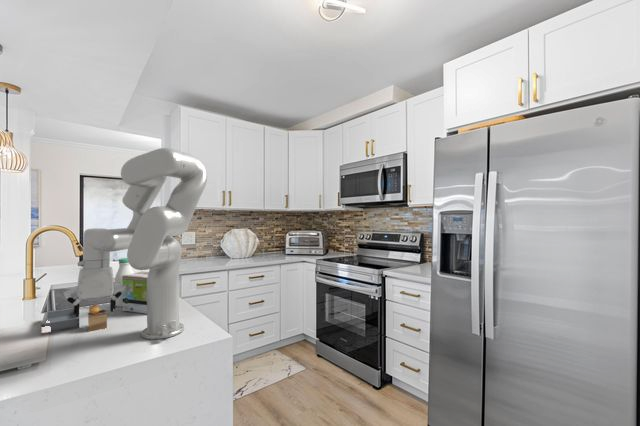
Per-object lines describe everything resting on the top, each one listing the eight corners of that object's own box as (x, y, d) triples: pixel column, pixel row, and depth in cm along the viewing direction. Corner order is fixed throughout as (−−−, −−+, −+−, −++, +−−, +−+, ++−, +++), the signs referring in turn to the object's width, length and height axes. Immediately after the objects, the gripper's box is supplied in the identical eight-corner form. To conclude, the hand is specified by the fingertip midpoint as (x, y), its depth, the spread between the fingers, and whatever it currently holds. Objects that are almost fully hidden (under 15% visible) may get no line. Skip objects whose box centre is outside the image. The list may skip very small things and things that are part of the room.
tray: (79, 327, 109) (79, 318, 109) (41, 334, 103) (40, 324, 103) (79, 315, 123) (79, 307, 123) (45, 320, 117) (45, 312, 117)
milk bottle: (125, 307, 132) (125, 260, 133) (110, 306, 134) (109, 259, 134) (139, 302, 140) (139, 257, 140) (124, 301, 142) (124, 257, 142)
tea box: (121, 311, 127) (121, 275, 127) (142, 304, 137) (141, 270, 137) (151, 315, 123) (151, 277, 123) (170, 307, 132) (170, 272, 132)
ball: (101, 308, 109) (95, 302, 109) (92, 315, 107) (86, 308, 107) (102, 310, 111) (96, 303, 111) (93, 316, 109) (87, 310, 109)
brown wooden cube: (106, 328, 108) (106, 313, 108) (88, 332, 105) (88, 316, 105) (105, 324, 112) (105, 309, 112) (88, 327, 109) (88, 312, 109)
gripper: (63, 268, 101) (62, 321, 101) (126, 263, 111) (125, 312, 111) (64, 264, 107) (63, 315, 107) (124, 260, 117) (123, 306, 117)
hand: (95, 313), depth 109 cm, fingers open, 9 cm apart
